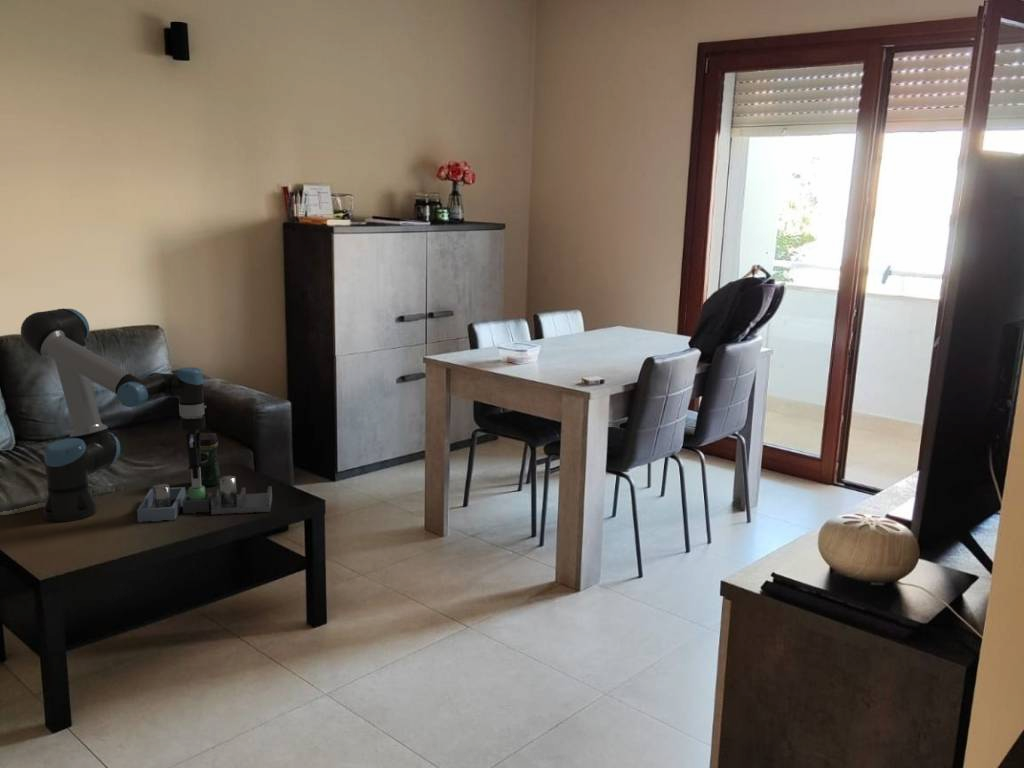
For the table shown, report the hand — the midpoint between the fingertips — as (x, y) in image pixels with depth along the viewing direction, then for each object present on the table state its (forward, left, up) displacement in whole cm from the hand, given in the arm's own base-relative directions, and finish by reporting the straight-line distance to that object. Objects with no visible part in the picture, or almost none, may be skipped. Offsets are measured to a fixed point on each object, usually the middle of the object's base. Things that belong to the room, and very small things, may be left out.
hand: (196, 487), depth 286 cm
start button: (0, 0, -6) cm, 6 cm away
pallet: (+14, 0, -7) cm, 16 cm away
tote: (-11, +1, -7) cm, 13 cm away
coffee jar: (-1, +28, -8) cm, 29 cm away
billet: (-11, +1, -8) cm, 13 cm away
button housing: (0, 0, -7) cm, 7 cm away
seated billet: (+10, 0, -5) cm, 11 cm away
